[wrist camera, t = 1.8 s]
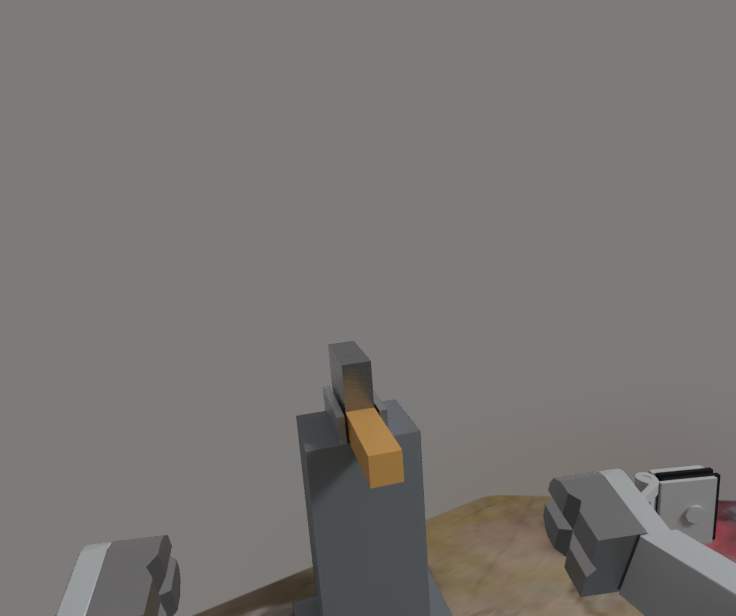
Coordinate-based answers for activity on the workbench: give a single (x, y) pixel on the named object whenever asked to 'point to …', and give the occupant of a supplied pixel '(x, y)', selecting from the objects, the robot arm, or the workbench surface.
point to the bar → (364, 416)
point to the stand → (364, 522)
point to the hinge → (683, 498)
